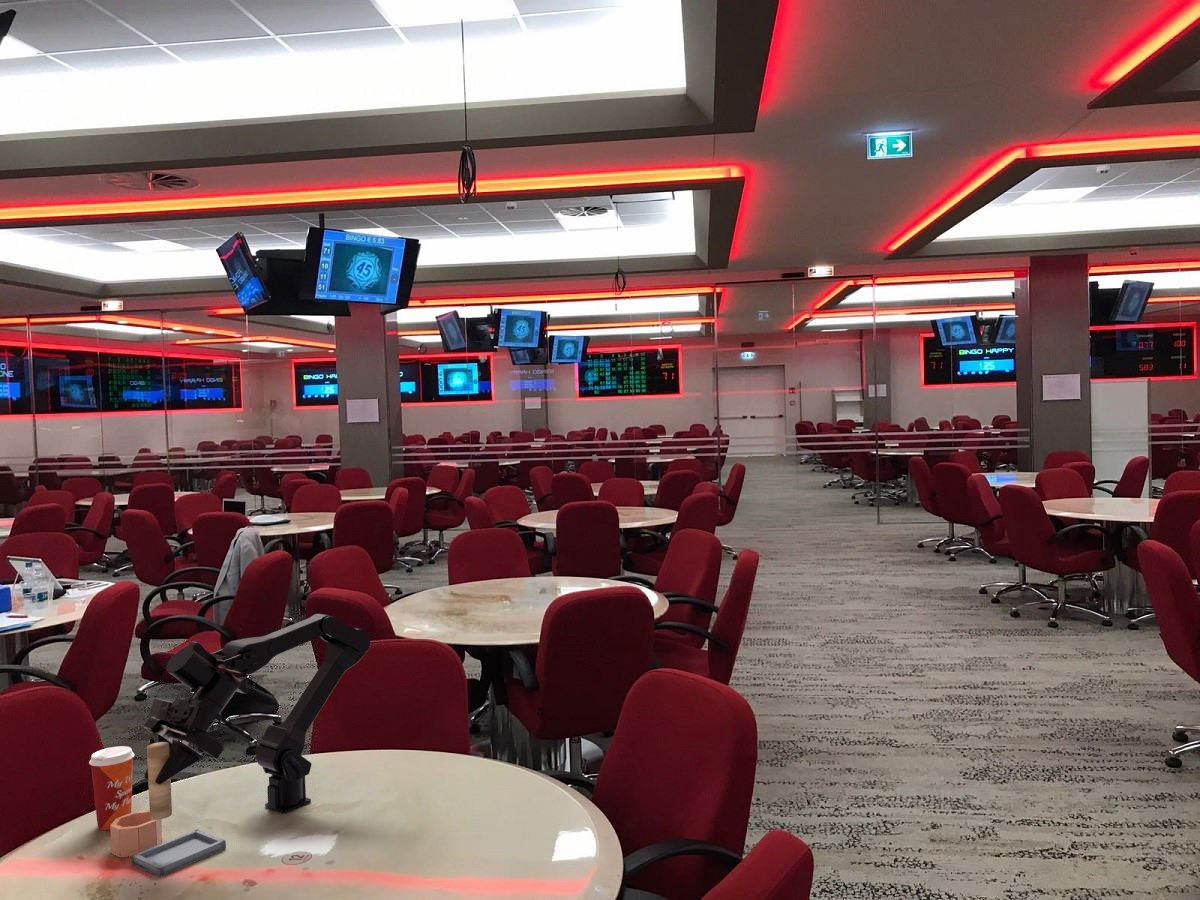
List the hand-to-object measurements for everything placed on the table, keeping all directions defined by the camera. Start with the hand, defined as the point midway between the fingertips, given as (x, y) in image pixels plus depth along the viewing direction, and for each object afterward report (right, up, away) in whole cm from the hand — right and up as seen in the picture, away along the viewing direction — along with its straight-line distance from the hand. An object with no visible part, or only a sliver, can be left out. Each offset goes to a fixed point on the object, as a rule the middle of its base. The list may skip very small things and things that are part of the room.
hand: (151, 781), depth 154 cm
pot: (-5, -14, +4) cm, 15 cm away
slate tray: (+5, -13, 0) cm, 14 cm away
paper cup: (-15, -14, +15) cm, 25 cm away
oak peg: (+1, -7, +1) cm, 7 cm away
